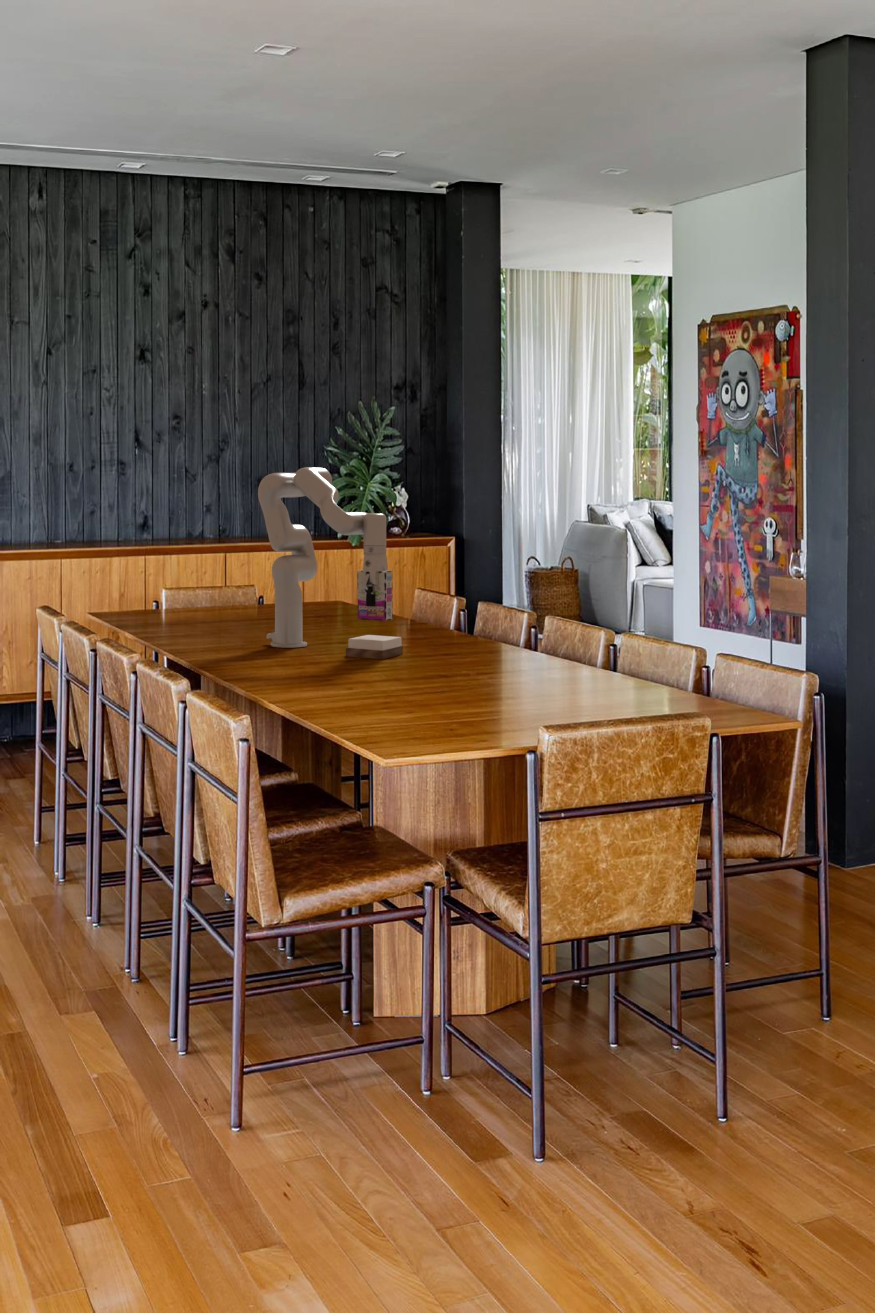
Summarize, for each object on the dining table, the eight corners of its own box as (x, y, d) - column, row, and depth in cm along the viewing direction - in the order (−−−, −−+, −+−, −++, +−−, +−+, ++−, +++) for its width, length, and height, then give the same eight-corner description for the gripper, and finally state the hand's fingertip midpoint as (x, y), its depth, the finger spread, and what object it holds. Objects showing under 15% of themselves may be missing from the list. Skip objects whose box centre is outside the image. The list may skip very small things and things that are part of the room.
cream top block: (348, 647, 469) (348, 638, 468) (367, 643, 480) (367, 634, 480) (382, 650, 463) (382, 641, 463) (401, 646, 475) (401, 637, 474)
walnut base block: (345, 658, 469) (345, 647, 469) (366, 653, 482) (366, 643, 481) (383, 661, 463) (383, 650, 463) (402, 656, 476) (402, 645, 475)
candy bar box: (393, 620, 471) (393, 570, 468) (386, 621, 466) (385, 571, 464) (364, 618, 476) (364, 569, 474) (356, 619, 471) (356, 570, 469)
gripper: (372, 552, 459) (372, 608, 461) (396, 549, 474) (396, 604, 476) (352, 551, 462) (352, 607, 464) (377, 549, 477) (377, 603, 480)
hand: (374, 605), depth 470 cm, fingers closed on candy bar box, 5 cm apart
